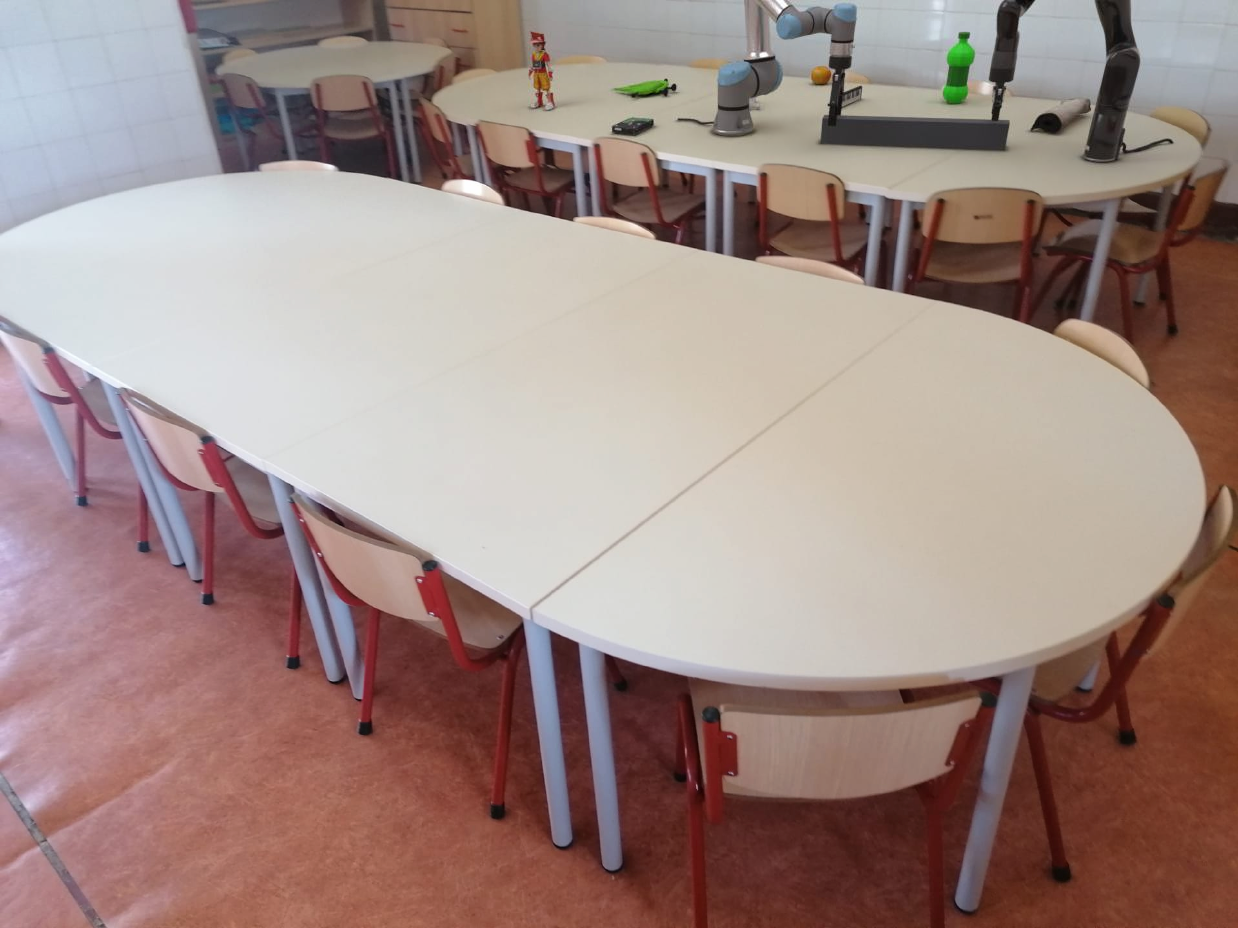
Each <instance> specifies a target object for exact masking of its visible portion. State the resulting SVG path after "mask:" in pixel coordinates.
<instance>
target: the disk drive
mask: <svg viewBox="0 0 1238 928" xmlns="http://www.w3.org/2000/svg"><path fill="white" fill-rule="evenodd" d="M653 126H655V121H654V118H645V117H633V116H632V117H628V118H627V119H624V120H621V121H619V122H618V123H615V124H613V125H612V126H611V132H612V133H614V134H620V135H629V136H630V135H631V136H635V135H638V134H639V133H642V132H644V131H646V130H648V129H651V128H653Z"/></svg>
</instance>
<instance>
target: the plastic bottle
mask: <svg viewBox="0 0 1238 928" xmlns="http://www.w3.org/2000/svg"><path fill="white" fill-rule="evenodd" d="M970 36H971V32H970V31H959V32H958V36H957V39H958V42H957V43H956V44H954V45H953V46H952V47H951V48H950V49H949V50H948V52H947V54H946V63H947V64H948V69H947V70H948V71H947V76H946V77H947V78H946V84H945V85H944V87H943V90H942V97H943V99H944V100H945V101H946V102H947V103H948V104H960V103H961V102H963V101H964V100H966V98H967V96H968V95H969V85H968V79H969V73H970V67H971V65H972V64H973V63H974V61H975V57H976V51H975V49H974V47H972V45H971V44H970V43H969V42H968V41H969V39H970V38H971V37H970Z"/></svg>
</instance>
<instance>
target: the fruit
mask: <svg viewBox="0 0 1238 928" xmlns="http://www.w3.org/2000/svg"><path fill="white" fill-rule="evenodd" d="M831 79H832V71H831V68H829V66H828V67H827V65H819V66H816V67H814V68H813V69H812V70H811V73H810V80H811V82H812V83H814V84H815V85H825V84H827V83H828V82H830V80H831Z"/></svg>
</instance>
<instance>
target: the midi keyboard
mask: <svg viewBox="0 0 1238 928" xmlns="http://www.w3.org/2000/svg"><path fill="white" fill-rule="evenodd" d="M844 92H845V95H841V96H843V100H842V107H844V106H846V105H849V104H852V103H855V102H856V101H859V100H862V93H863V85H858V86H856V87H855V86H854V87H853V88H851V89H847V90H846V91H844Z"/></svg>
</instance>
